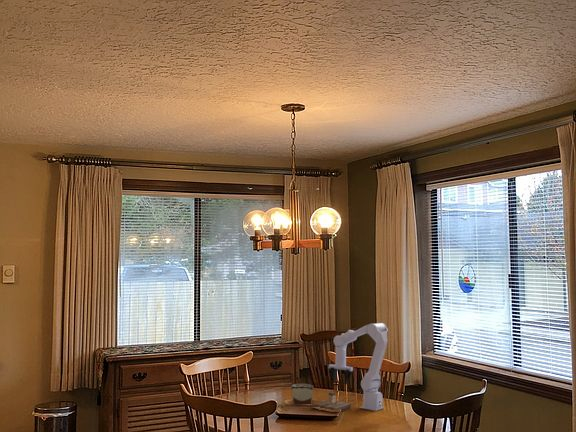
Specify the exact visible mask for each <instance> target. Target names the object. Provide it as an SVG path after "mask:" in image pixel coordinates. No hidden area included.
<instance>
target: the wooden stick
mask: <svg viewBox="0 0 576 432" xmlns="http://www.w3.org/2000/svg"><path fill="white" fill-rule="evenodd" d="M328 400H329V405H335V401H336V392H333V391H332V392H328Z"/></svg>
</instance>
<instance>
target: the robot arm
mask: <svg viewBox="0 0 576 432" xmlns="http://www.w3.org/2000/svg"><path fill="white" fill-rule="evenodd" d="M388 331H389V329H388V327H387V326H386V324H385V323H384V322H378V323H369V324H366V325H364V326H362V327H360V328H357V329H356V330H352V329H348V330H347V331H346V332H345V333H344V332H343V333H341V334H340V335H335V336H334V338H333V345H334V346H335V362H334V364H331V363H330V364H328V372H329V374H330V376H331V379H332V382H333V383H337V374H338V370H341V371H343V374H344V375H343V376H344V385H348V384H349V381H350V377H351V375H352V373H353V371H354V367H353V366H348V365H347V347H348V344H350V343H352V342H355V341H356V340H357V339H358V337H361V336H363V335H365V334H367V335H369V336H370V338H371V339H372V340H373V341H374V342H375V347H374V349H373V352H372V353H373V354H372V357H371V360H370V364H369V368H368V371H367V372H366V373H365V374H364V377H363V378H362V379H361V381H360V387H361V389H362V391H363V405H362V406H360V407H359V408H360V409H363V410H368V411H374V412H375V411H376V412H377V411H380V410H383V409H384V407H383V400H384V399H383V393H382V392H380V391H379V388H380V387H381V378H382V376H381V375H380V370H381V368H382V364H383V360H384V357H385V353H386V349H387V345H388V341H389V340H388Z"/></svg>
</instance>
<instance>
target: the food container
mask: <svg viewBox="0 0 576 432" xmlns="http://www.w3.org/2000/svg"><path fill="white" fill-rule="evenodd" d="M290 390H291V393H292V394H291V395H292V403H293V404H311V405H312V402H313V394H314V391H315V387H314V385H312V384H311V383H309V384H308V383H294V384H292V385H291V387H290Z"/></svg>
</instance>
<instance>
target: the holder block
mask: <svg viewBox="0 0 576 432" xmlns="http://www.w3.org/2000/svg"><path fill="white" fill-rule="evenodd" d="M313 407H320V408H325V409H331V410H335V411H336V410H339V409H341V412H344V411H345V412H346V411H348V410H351V408H352V405H351V403H349V402H345V401H338V400H335V405H329V399H327V400H322V401H318V402H316V403H312V408H313ZM341 412H340V413H341Z"/></svg>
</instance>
